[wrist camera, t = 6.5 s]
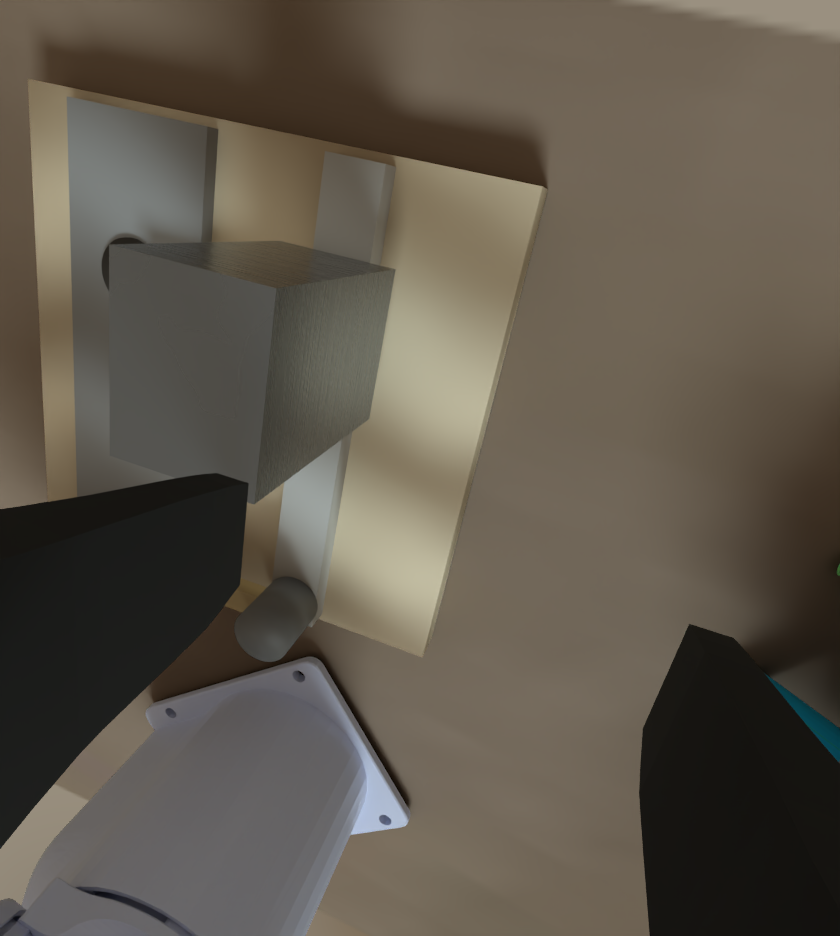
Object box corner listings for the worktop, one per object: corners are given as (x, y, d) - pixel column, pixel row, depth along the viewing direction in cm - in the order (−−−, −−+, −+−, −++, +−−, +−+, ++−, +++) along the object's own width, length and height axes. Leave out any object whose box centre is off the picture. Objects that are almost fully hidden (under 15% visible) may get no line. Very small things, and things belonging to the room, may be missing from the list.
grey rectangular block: (369, 418, 17) (254, 504, 12) (146, 352, 18) (-49, 402, 13) (395, 269, 15) (276, 288, 10) (150, 208, 17) (-72, 196, 11)
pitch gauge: (432, 636, 22) (395, 716, 18) (73, 506, 25) (-20, 553, 21) (547, 189, 16) (527, 176, 12) (61, 87, 19) (-70, 53, 15)
